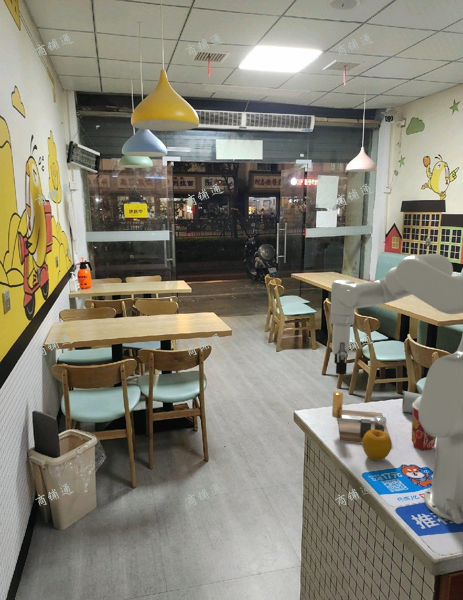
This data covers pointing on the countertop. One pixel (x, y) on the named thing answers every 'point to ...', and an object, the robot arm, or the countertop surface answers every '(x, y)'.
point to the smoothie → (420, 430)
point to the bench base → (358, 426)
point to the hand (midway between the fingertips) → (340, 368)
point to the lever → (337, 413)
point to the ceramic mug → (409, 401)
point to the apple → (376, 444)
